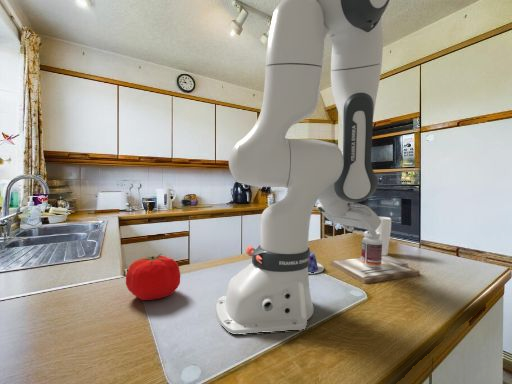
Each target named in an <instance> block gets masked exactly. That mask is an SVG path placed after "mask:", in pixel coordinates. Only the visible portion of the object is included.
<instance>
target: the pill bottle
mask: <svg viewBox="0 0 512 384" xmlns="http://www.w3.org/2000/svg"><path fill="white" fill-rule="evenodd" d="M368 231H369V230H365V231H364V234H363V235H364V237H363V238H362V239H361V250H360V251H361V253H360V258H361V263H362V264H363V265H365V266H368V267H375V268H377V267H380V266H381V260H382V241H381V240H380V239H379V238H380V233H379V232H376V233H377V234H376V235H375V237H372V236H369V234H368V233H367V232H368Z"/></svg>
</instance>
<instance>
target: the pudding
mask: <svg viewBox="0 0 512 384" xmlns="http://www.w3.org/2000/svg"><path fill="white" fill-rule="evenodd" d="M316 257H317V256H316V255H315V254H314V252H312V251H310V266H309V270H308V273H311V272H314V273H313V274H319V273H321V272H323V271H324V270H325V267H324V266H323V265H322V264H320V263H319V262H317V258H316Z"/></svg>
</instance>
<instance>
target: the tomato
mask: <svg viewBox="0 0 512 384" xmlns="http://www.w3.org/2000/svg"><path fill="white" fill-rule="evenodd" d="M162 254H163V253H162V252H161V253H160V254H158V255H156V256H154V255H151V256H147V257H141V258H139V259H136V260H135V261H133V262H132V263H131V264H130V265H129V267H128V269H127V272H126V275H125V285H126V288H127V289H128V291H129V292H130V293H131V294H132V295H134V296H135V297H136V298H138V299H141V300H142V301H148V300H149V301H150V300H157V299H159V300H160V299H163V298H166V297H169V296H170V295H171V294H173V293H174V292H175V291H176V290H177V289H178V287H179V286H180V284H181V271H180V266H179V264H178V263H177V262H176V261H175V259H174V258H170V257H167V256H165V255H162Z"/></svg>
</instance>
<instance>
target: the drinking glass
mask: <svg viewBox="0 0 512 384" xmlns="http://www.w3.org/2000/svg"><path fill="white" fill-rule="evenodd" d="M377 216H378V215H377ZM378 217H379V218H380V220H381V224H380V226H379V227H378V228H377V230H376V232H379V233H380V238H379V239H380V240H381V241H382V256H388V254H389V247H390V246H389V244H390V238H391V231H392V218H391V217H387V216H378Z"/></svg>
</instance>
